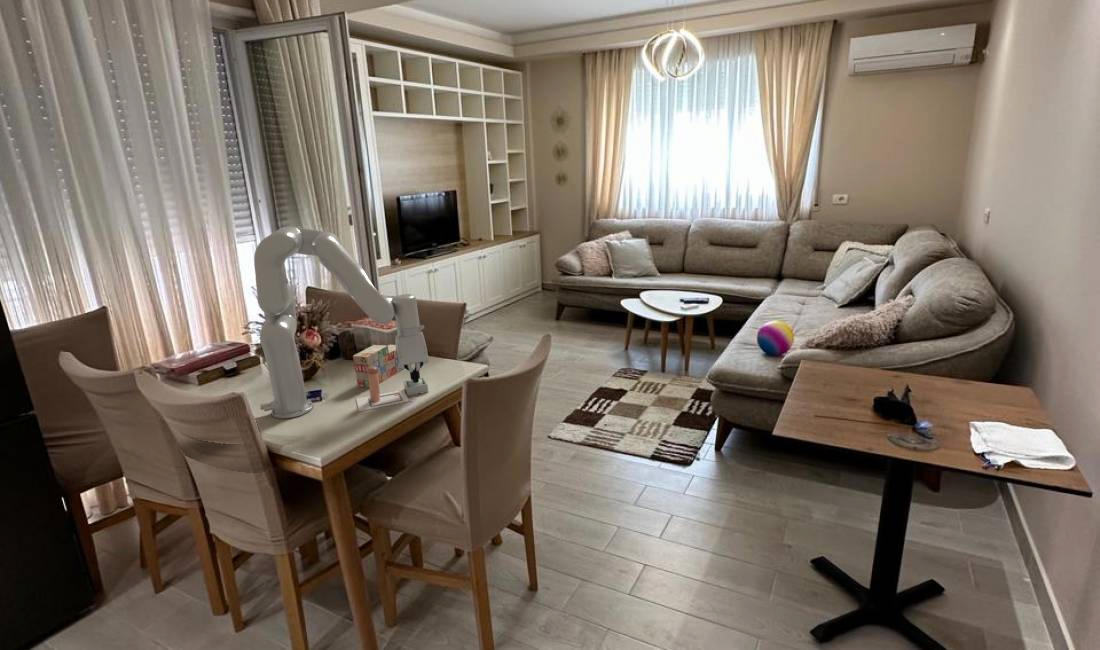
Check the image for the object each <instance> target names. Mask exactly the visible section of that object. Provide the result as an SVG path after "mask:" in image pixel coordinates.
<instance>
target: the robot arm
mask: <svg viewBox="0 0 1100 650" xmlns="http://www.w3.org/2000/svg"><path fill="white" fill-rule="evenodd" d="M296 254H297V255H298V254H299V255H306V256H313V257H315V258H316V259H317V261H318V262H319V263H320V264H321V265H322V266H323V268H325V269H326V270H327V271H328V272H329V274H330V275H331V276H333V278H334V279H335V280H337V282H338V283H339V284H340V285H341V286H342V288H343V289H344V290H345V292H346V293H347V294H349V296H350V297H351V298H352V299H353V301H354V302H355V303H356V304H357V305H358V306H359V308H360V309H361V310H362V311H363V312H364V313H365V314H366V316H367V317H369V319H371V321H373V322H375V323H376V324H378V325H386V324H389V323H391V321H392V320H393V319H394V317H395V323H396V331H397V332H396V333H397V334H396V335H395V345H396V356H397V361H398V365H397V366H398V368H404V369H406V370H407V371H408V372H409V376H410V380H413V381H414V383H416V382H419V379H420V378H421V376H420V375H421V374H420V371H421V368H422V367H423V366H424V365H427V364H429V363H430V360H429V355H428V348H427V344H426V340H425V336H424V333H423V331H422V330H425V325H424V324H420V318H419V310H418V302H417V297H416V296H415V295H414V294H411V293H403V294H399V295H382V294H381V293H380V292H379V291H378V290H377V288H376V287H375V286H374V285H373V283H372V282H371V280H370V279H369V277H368V275H367V273H366V271H365V270H364V269H363V267H362V266H361V264H360V263H359V262H358V261H357V260H356V259H355V258H354V256H352V255H351V254H350V253H349V251H348V250H347V249H346V248H345V247H344V246H343V245H342V244H341V242H340V239H339V237H338V236H337V235H336V234H334V233H333V232H329V231H326V230H325V231H324V230H316V229H310V228H305V227H304V228H303V227H296V226H284V227H280V228H279V229H277V230H276V231H274V232H272V233H271V234H269V235H267V236H266V237H264V238H263V239H262V240H261V241H260V242H259V243H258V245H257V247H256V248H255V252H254V257H253V259H254V260H253V262H254V264H253V265H254V274H255V285H256V296H257V303H258V306H259V308H260V309H261V312H263V313H264V315H263V316H264V323H263V324H262V327H261V329H260V333H259V339H260V345H261V348H262V351H263V354H264V357H265V362H266V366H267V370H268V374H269V381H270V384H271V389H272V394H273V395H272V396H273V400H271V401H270V402H266V403H260V404H259V405H260V406H259V407H260V410H261V411H264V412H269V411H271V415H272V417H274V418H275V419H291V418H297V417H299V416H302V415H305V414H307V413H309V412H310V411H312V409H313V408H314V403H313V402H312V401H311V400H308V399H307V393H306V388H305V383H304V378H303V372H302V367H301V362H300V357H299V352H298V349H297V345H296V341H295V335H296V332H297V326H298V323H297V313H296V306H295V305H296V304H295V297H294V291H293V289H292V287H291V285H290V284H289V283H287V275H286V274H287V273H286V268H285V262H286V260H287V259H288V258H290V257H292V256H294V255H296ZM413 364H414V367H413V366H412V365H413Z"/></svg>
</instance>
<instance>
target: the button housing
mask: <svg viewBox="0 0 1100 650" xmlns="http://www.w3.org/2000/svg"><path fill="white" fill-rule="evenodd" d="M420 379H422V382H423V384H422V385H417V386H412V387H409V384H408V381H410V380H411V379H409V380H404V381H403V385H404V391H405V394H406V396H407V397H411V396H415V395H414V394H416V395H419V394H418V393H421V394H423V393H422V392H426V393H428V392H429V386H428V382H427V381H426V379H425V377H420ZM427 391H428V392H427ZM410 395H411V396H410Z"/></svg>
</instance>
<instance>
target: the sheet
mask: <svg viewBox="0 0 1100 650" xmlns="http://www.w3.org/2000/svg"><path fill="white" fill-rule="evenodd" d="M355 400H356V405H357V409H358V412H365V411H369V410H375V409H380V408H384V407H390V406H394V404H395V405H400V404H404V402H405V403H408V402H409V398H408V395H407V393H406V391H405V389H400V390H394V391H389V392H385V393H380V401H378V402H371V401H370V395H369V396H364V397H359V398H356V399H355ZM399 403H400V404H399ZM409 403H410V402H409Z"/></svg>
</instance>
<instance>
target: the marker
mask: <svg viewBox="0 0 1100 650" xmlns="http://www.w3.org/2000/svg"><path fill="white" fill-rule="evenodd" d="M367 371H368V379H369V388H368V389H369V396H370V401H371V402H378V401H380V394H381V393H380V391H381V390H380V384H379V378H378V367H376V366H372V367H368V368H367Z"/></svg>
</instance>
